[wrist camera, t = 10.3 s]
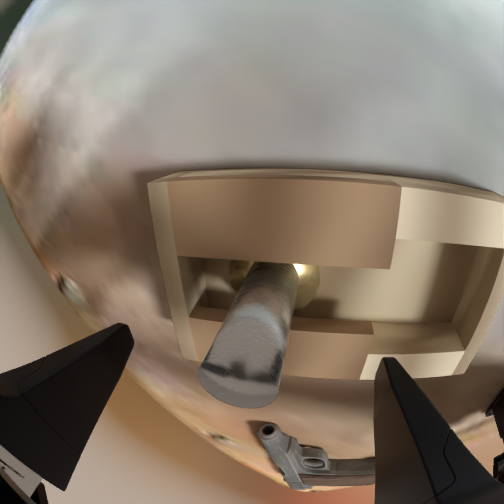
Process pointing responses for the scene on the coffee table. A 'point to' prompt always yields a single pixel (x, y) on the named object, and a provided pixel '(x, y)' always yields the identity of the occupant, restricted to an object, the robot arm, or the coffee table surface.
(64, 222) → the coffee table surface
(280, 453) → the handgun
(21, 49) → the coffee table surface
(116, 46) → the coffee table surface
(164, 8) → the coffee table surface
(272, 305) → the peg
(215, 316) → the keyhole board
